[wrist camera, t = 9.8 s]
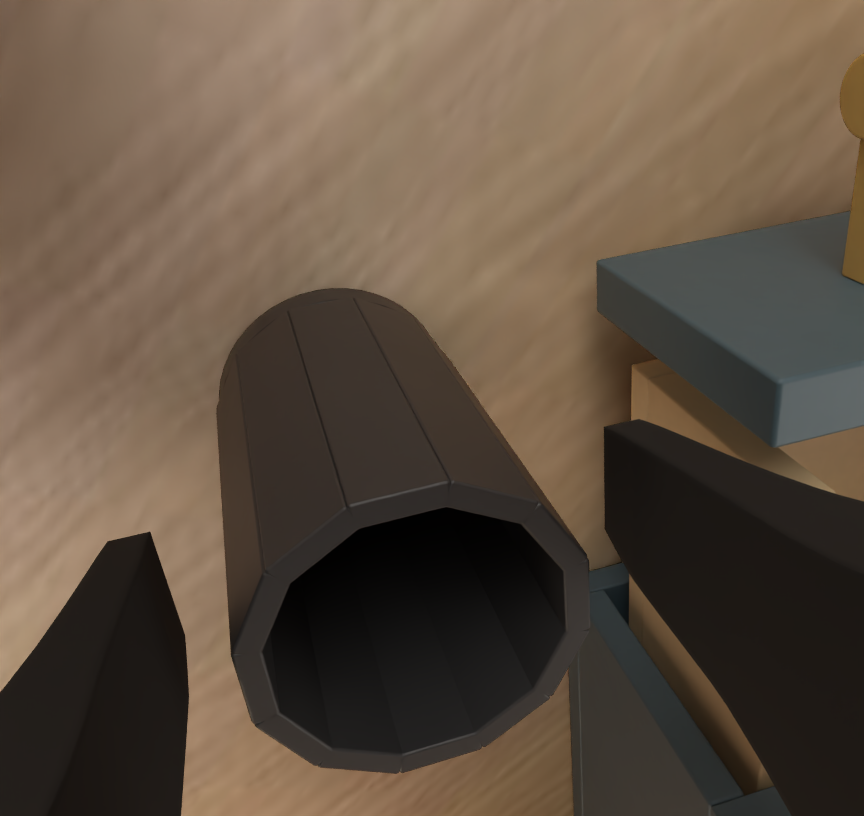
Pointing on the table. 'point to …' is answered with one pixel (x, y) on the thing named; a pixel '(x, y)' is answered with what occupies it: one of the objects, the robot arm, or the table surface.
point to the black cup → (383, 544)
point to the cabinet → (641, 728)
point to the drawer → (750, 378)
